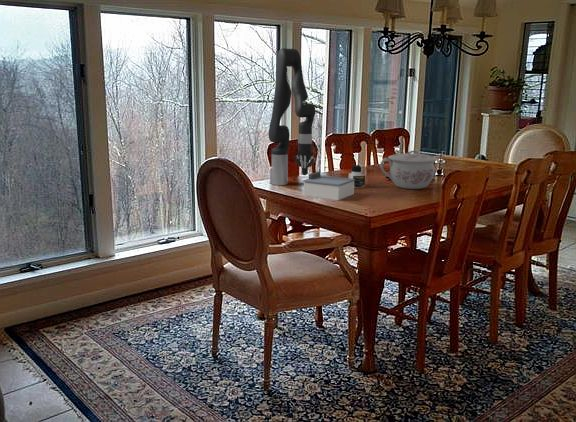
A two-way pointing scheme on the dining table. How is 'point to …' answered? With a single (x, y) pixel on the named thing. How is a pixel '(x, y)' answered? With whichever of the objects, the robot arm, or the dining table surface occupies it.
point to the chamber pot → (410, 169)
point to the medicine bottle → (357, 176)
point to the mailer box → (328, 190)
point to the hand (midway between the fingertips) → (304, 174)
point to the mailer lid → (327, 179)
